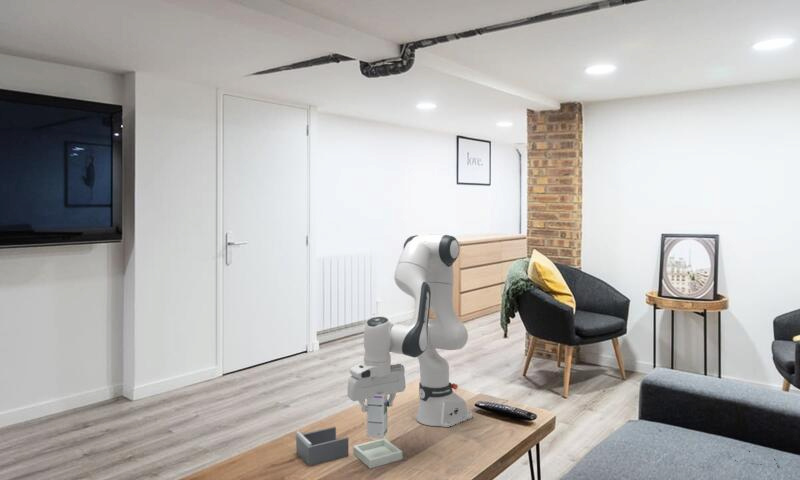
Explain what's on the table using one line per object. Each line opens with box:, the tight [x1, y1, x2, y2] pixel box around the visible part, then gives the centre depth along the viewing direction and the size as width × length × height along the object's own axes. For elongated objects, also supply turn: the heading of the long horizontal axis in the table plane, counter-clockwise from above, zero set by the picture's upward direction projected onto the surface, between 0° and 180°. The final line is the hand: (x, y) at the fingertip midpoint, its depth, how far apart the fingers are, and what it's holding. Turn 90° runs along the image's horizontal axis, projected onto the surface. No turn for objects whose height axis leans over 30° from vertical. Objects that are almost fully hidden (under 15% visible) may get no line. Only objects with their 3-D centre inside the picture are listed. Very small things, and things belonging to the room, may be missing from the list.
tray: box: [352, 437, 403, 469], centre depth 183 cm, size 12×12×3 cm
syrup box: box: [366, 392, 388, 439], centre depth 182 cm, size 6×6×14 cm
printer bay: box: [295, 425, 349, 467], centre depth 184 cm, size 14×11×7 cm
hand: (377, 408), depth 181 cm, fingers closed on syrup box, 8 cm apart
